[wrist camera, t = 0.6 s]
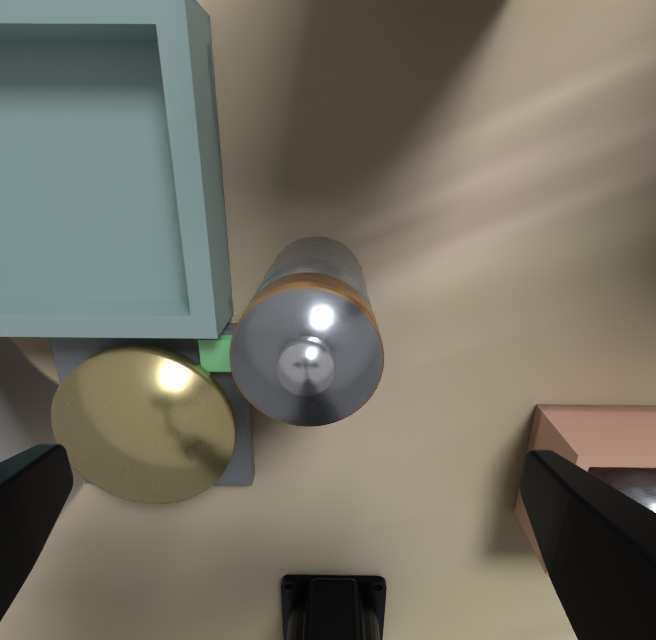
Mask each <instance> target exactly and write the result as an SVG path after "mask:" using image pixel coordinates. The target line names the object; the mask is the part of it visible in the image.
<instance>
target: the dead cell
mask: <svg viewBox="0 0 656 640" xmlns="http://www.w3.org/2000/svg"><path fill="white" fill-rule="evenodd" d="M588 472H589V473H590V474H592V475H594V476H595V477H597V478H599V479H600V480H602V481H604V482H605V483H607V484H609V485H610V486H612V487H614V488H615V489H617V490H619V491H620V492H622V493H624V494H625V495H627V496H629V497H630V498H632V499H634V500H635V501H637V502H639V503H640V504H642V505H644V506H645V507H647V508H649V509H650V510H652V511H654V512H655V513H656V473H655V472H654V471H653V470H652V469H651V468H636V467H589V469H588Z"/></svg>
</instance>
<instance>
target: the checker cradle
mask: <svg viewBox="0 0 656 640" xmlns="http://www.w3.org/2000/svg"><path fill="white" fill-rule="evenodd" d="M237 324H238V323H227V324H226V326H225V328H224V329H223V331H222V332H221V334H220V336H219V337H218V339H194V338H85V337H49V341H50V345H51V349H52V353H53V357H54V361H55V365H56V369H57V372H58V376H59V380H60V383H61V382H62V381H63V379H64V378H65V377H66V376H67V375H68V374H69V373H70V372H71V371H72V370H73V369H74V368H75V367H76V366H78V365H79V364H80V363H81V362H83V361H84V360H85V359H87V358H88V357H90V356H91V355H93V354H95V353H97V352H99V351H101V350H104V349H107V348H110V347H114V346H119V345H126V344H144V345H152V346H158V347H162V348H165V349H169V350H172V351H175V352H177V353H179V354H182V355H184V356H186V357H188V358H189V359H191V360H193V361H195V362H196V363H198V364H199V365H200V366H202V367H203V368H204V369H206V370H207V371H208V372H209V373H210V374H211V375H212V376H213V377H214V378H215V379H216V380H217V381H218V382H219V384H220V385H221V386H222V387H223V389H224V391H225V392H226V394H227V395H228V397H229V399H230V401H231V403H232V406H233V409H234V412H235V416H236V422H237V437H236V443H235V446H234V449H233V452H232V455H231V458H230V461H229V464H228V466H227V468H226V470H225V471H224V473H223V474H222V475H221V477H220V478H219V479H218V480H217V481H216V482H215V483H214V484H213V485H252V483H253V479H254V475H255V465H254V451H253V437H252V423H251V409H250V402H249V401H248V400H247V399H246V398H245V397H244V396H243V394H242V393H241V391H240V390H239V388H238V387H237V384H236V382H235V380H234V378H233V375H232V371H231V367H230V358H229V351H230V343H231V339H232V336H233V333H234V331H235V328H236V326H237ZM84 479H85V483H91V482H90V481H88V480H87V479H86V478H84Z"/></svg>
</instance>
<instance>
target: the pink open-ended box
mask: <svg viewBox="0 0 656 640" xmlns="http://www.w3.org/2000/svg"><path fill="white" fill-rule="evenodd" d="M531 449H548V450H552V451H554V452H556V453H557V454H559V455H561V456H562V457H564V458H565V459H567V460H569V461H570V462H572V463H574V464H575V465H577V466H579V467H580V468H582V469H584V470H585V471H587V472H588V469H589V467H636V468H651V469H652V470H653V471H654V472H655V473H656V406H611V405H536V410H535V415H534V420H533V424H532V429H531V434H530V438H529V443H528V448H527V452H528V451H529V450H531ZM527 452H526V453H527ZM514 513H515V515H516V517H517V518H518V520H519V522H520V524H521V526H522V528H523V530H524V532H525V534H526V536H527V538H528V540H529V542H530V544H531V546H532V548H533V550H534V552H535V554H536V556H537V558H538V560H539V562H540V564H541V566H542V568H543V570H544V571H545V573H546V575H548V572H547V569H546V567H545V564H544V561H543V558H542V556H541V553H540V550H539V547H538V544H537V541H536V538H535V535H534V532H533V529H532V527H531V524H530V521H529V518H528V515H527V512H526V509H525V506H524V503H523V500H522V497H521V494H520V485H519V490H518V495H517V499H516V504H515V509H514Z"/></svg>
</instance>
